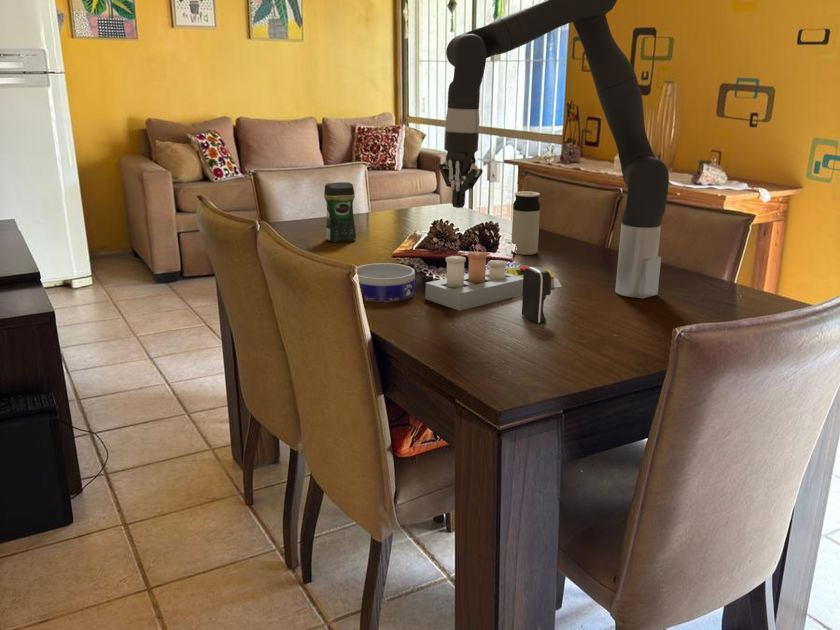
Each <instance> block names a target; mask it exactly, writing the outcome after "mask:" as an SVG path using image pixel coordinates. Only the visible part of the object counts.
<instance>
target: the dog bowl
mask: <svg viewBox="0 0 840 630" xmlns="http://www.w3.org/2000/svg"><path fill="white" fill-rule="evenodd" d="M356 267H357V268H358V278H359V284H360V288H361V292H362V297H363V300H362V301H364V300H365V302H370V301H382V302H381V303H385V302H384V301H396V302H400V301H399V300H402V301H405V300H404V299H406V300H408V299H407V298H409V299H410V297H411V298H412V297H413V296H414V295H415V282H416V281H415V279H416V271H415V269H414V268H412V267H411V266H409V265H405V264H400V263H399V264H398V263H388V262H384V263H383V262H380V263H369V264H363V265H359V266H356Z"/></svg>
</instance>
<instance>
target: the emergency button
mask: <svg viewBox="0 0 840 630" xmlns="http://www.w3.org/2000/svg"><path fill="white" fill-rule="evenodd" d="M528 267H530V266H527V265H526V266H521V267H520V268H518V267H517V268H516V267H513V268H510V267H509V268H506V269H507V270H506V273H508V274H512V275H515V276H519V277H523V274H524V270H525V269H526V268H528ZM543 269H544V270H546V271H548V272H549V273H550V275H551V289H552V288H553V289H554V288H555V289H556V288H562V287H563V286H562V284H561V282H560V280H559V279H558V278H556V277H554V275H553V272H551V270H550V269H549V268H543Z"/></svg>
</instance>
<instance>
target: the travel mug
mask: <svg viewBox="0 0 840 630" xmlns="http://www.w3.org/2000/svg"><path fill="white" fill-rule="evenodd" d="M514 195H515V196H514V197H515V200H514V201H513V203H512V204H513V205H512V220H511V221H512V223H511V242H512V243H513V244H516V245H517V250H516V254H515V255H519V256H533V255H536V254H538V250H539V233H540V232H539V231H540V218H541V217H540V216H541V215H540V213H541V202H540V200H539V196H541V193H539V192H536V191H525V190H524V191H522V190H521V191H516V192H514Z"/></svg>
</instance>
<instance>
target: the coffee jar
mask: <svg viewBox="0 0 840 630" xmlns="http://www.w3.org/2000/svg"><path fill="white" fill-rule="evenodd" d="M355 195H356V194H355V188H354V184H353V183H351V182H347V181H346V182H343V181H341V182H340V181H339V182H338V181H337V182H329V183H325V185H324V193H323V197H324V200H325V202H326V220H325V221H326V223H325V239H326V241H327V240H328V242H331V241H333V242H332V243H339V242H338V241H348V242H353V241H355V240H356V239H357V231H356V226H355V217H354V199H355V198H356V197H355ZM352 240H353V241H352ZM335 241H337V242H335Z"/></svg>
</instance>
